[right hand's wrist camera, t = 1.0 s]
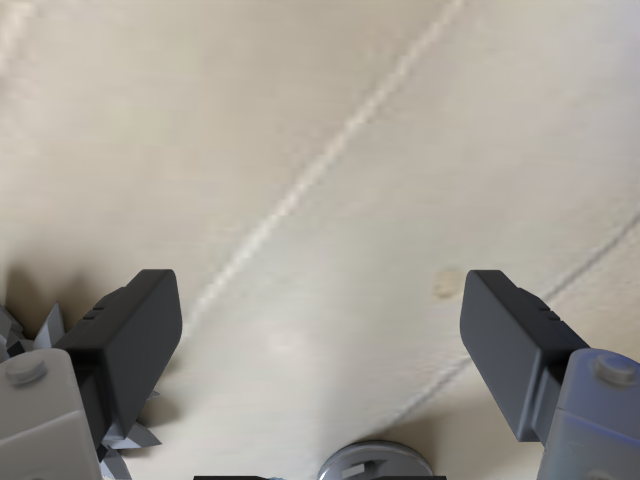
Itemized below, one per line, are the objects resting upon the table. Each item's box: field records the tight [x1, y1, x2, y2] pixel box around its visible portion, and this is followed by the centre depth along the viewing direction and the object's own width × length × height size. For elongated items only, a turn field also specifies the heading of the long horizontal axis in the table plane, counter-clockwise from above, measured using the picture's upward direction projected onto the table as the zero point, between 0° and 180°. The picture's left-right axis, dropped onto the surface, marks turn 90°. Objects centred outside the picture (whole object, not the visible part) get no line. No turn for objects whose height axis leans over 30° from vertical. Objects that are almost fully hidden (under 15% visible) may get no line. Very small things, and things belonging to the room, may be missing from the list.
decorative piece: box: [0, 302, 162, 480], centre depth 46 cm, size 30×4×30 cm
